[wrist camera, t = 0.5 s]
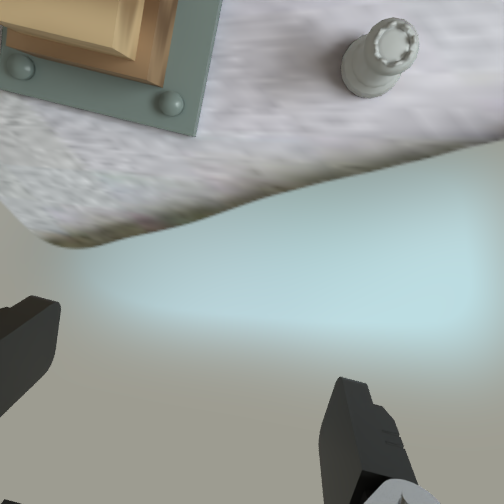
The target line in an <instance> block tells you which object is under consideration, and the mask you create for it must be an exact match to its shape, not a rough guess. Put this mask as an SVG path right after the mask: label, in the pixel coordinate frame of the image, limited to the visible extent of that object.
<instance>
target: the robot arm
mask: <svg viewBox="0 0 504 504" xmlns="http://www.w3.org/2000/svg"><path fill="white" fill-rule="evenodd" d="M60 312H61V306H60V304H59V302H56V301H52V300H48V299H44V298H41V297H37V296H29V297H27V298H26V299H24V300H22V301H21V302H19V303H17V304H16V305H14V306H13V307H11V308H9V307H5V308H1V309H0V417H1V416H2V415H3V414H4V413H5V412H6V411H7V410H8V409H9V408H10V407H11V406H12V405H13V404H14V403H15V402H16V401H17V400H18V399H20V398H21V397H22V396H23V395H24V394H25V392H27V391H28V390H29V389H30V388H31V387H32V386H33V385H34V384H35V383H36V382H37V381H38V380H39V379H40V378H41V377H42V376H43V375H44V374H45V373H46V372H47V371H48V369H49V367H50V365H51V363H52V361H53V358H54V355H55V350H56V343H57V335H58V327H59V320H60ZM403 447H404V446H403V443H402V440H401V437H399V432H398V429H397V427H396V424H395V421H394V420H393V418H392V417H391V416H390V415H389V414H388V413H387V411H386V410H385V409H384V408H383V407H382V406H379V405H375V404H373V402H372V399H371V395H370V392H369V389H368V386H367V384H366V383H362V382H359V381H355V380H351V379H347V378H343V377H339V378H338V379H337V381H336V383H335V387H334V389H333V392H332V395H331V398H330V401H329V404H328V408H327V410H326V413H325V416H324V419H323V422H322V425H321V430H320V435H319V456H320V466H321V477H322V487H323V497H324V504H440V503H439V502H438V500H437V499H436V498H435V497H434V496H433V495H432V494H430V493H429V492H428V491H426V490H425V489H423V488H421V487H420V486H418V483H417V480H416V478H415V475H414V472H413V470H412V467H411V464H410V461H409V459H408V456H407V453H406V451H405V449H403ZM1 504H20V503H17V502H13V501H9V500H5V499H4V501H3V502H2V503H1Z"/></svg>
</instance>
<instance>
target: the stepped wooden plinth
mask: <svg viewBox="0 0 504 504" xmlns="http://www.w3.org/2000/svg"><path fill="white" fill-rule="evenodd" d="M177 5H178V0H0V25H3V26H5V27H7V39H6V46H8V47H11V48H13V49H16V50H19V51H21V52H24V53H27V54H30V55H32V56H35V57H38V58H42V59H46V60H50V61H54V62H58V63H62V64H66V65H71V66H75V67H79V68H83V69H87V70H91V71H95V72H99V73H103V74H108V75H112V76H116V77H120V78H124V79H128V80H132V81H136V82H140V83H145V84H149V85H153V86H157V87H161V88H163V85H164V79H165V73H166V68H167V62H168V56H169V50H170V45H171V39H172V33H173V28H174V22H175V16H176V11H177Z"/></svg>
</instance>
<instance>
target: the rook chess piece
mask: <svg viewBox="0 0 504 504" xmlns="http://www.w3.org/2000/svg"><path fill="white" fill-rule="evenodd" d="M418 50H419V39H418V34H417V33H416V31H415V29H414V27H413V26H412V25H411V24H410V23H408V22H407V21H405V20H404V19H399V18H394V17H393V18H389V19H384V20H382V21H380V22H379V23H377V24H376V25H375V26H373V27H372V29H371V30H370V32H369V33H368V34H366V35H363V36H361V37H360V38H359V39H357V40H356V41H354V42H353V43H352V44H351V45H350V46H349V48H348V49H347V51H346V52H345V54H344V55H343V60H342V64H341V73H342V79H343V81H344V83H345V85H346V86H347V88H348V89H349V90H350V91H351V92H353V93H354V94H355V95H357V96H359V97H364V98H374V97H378V96H382V95H383V94H385V93H386V92H388V91H389V90H390V89H392V87H394V85H395V84H396V82H397V81H398V79H399V78H400V76H401V73H402V72H404V71H405V70H407V69H408V68H410V66H411V65H412V64H413V62H414V61H415V59H416V58H417V54H418Z"/></svg>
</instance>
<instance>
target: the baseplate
mask: <svg viewBox="0 0 504 504" xmlns="http://www.w3.org/2000/svg"><path fill="white" fill-rule="evenodd" d="M222 1H223V0H178V5H177V11H176V16H175V22H174V28H173V33H172V39H171V45H170V50H169V56H168V62H167V68H166V73H165V79H164V85H163V88H161V87H157V86H153V85H149V84H145V83H140V82H136V81H132V80H128V79H124V78H120V77H116V76H112V75H108V74H103V73H99V72H95V71H91V70H87V69H83V68H79V67H75V66H71V65H66V64H62V63H58V62H54V61H50V60H46V59H42V58H38V57H35V56H32V55H30V54H27V53H24V52H21V51H19V50H16V49H13V48H11V47H8V46H6V39H7V27H5V26H3V30H2V42H1V53H0V89H1V90H5V91H10V92H14V93H18V94H22V95H26V96H30V97H34V98H38V99H42V100H46V101H50V102H54V103H58V104H63V105H67V106H71V107H75V108H79V109H83V110H87V111H91V112H95V113H99V114H103V115H107V116H112V117H116V118H120V119H124V120H128V121H132V122H136V123H140V124H144V125H148V126H152V127H156V128H160V129H165V130H169V131H173V132H177V133H181V134H185V135H189V136H193V137H196V132H197V127H198V122H199V117H200V112H201V106H202V101H203V96H204V91H205V86H206V81H207V76H208V71H209V66H210V61H211V56H212V51H213V46H214V41H215V36H216V31H217V26H218V21H219V16H220V11H221V6H222Z"/></svg>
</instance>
